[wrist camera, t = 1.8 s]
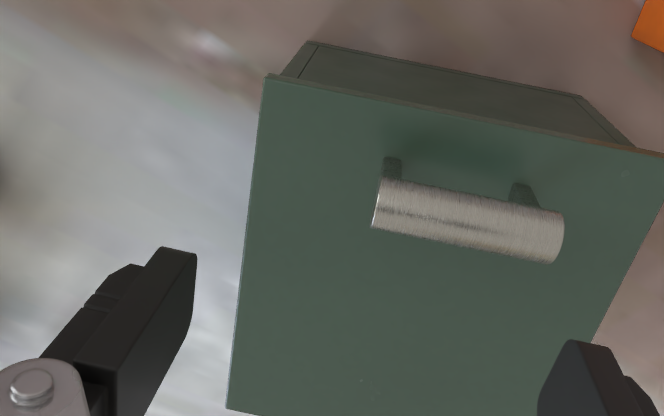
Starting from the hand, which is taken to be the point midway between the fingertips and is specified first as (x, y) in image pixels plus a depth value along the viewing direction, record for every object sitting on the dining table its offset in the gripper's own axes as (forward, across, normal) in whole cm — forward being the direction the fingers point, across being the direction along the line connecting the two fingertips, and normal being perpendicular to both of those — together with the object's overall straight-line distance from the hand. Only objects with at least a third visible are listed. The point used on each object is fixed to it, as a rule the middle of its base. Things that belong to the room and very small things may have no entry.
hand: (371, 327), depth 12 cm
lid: (+11, -3, +7) cm, 13 cm away
